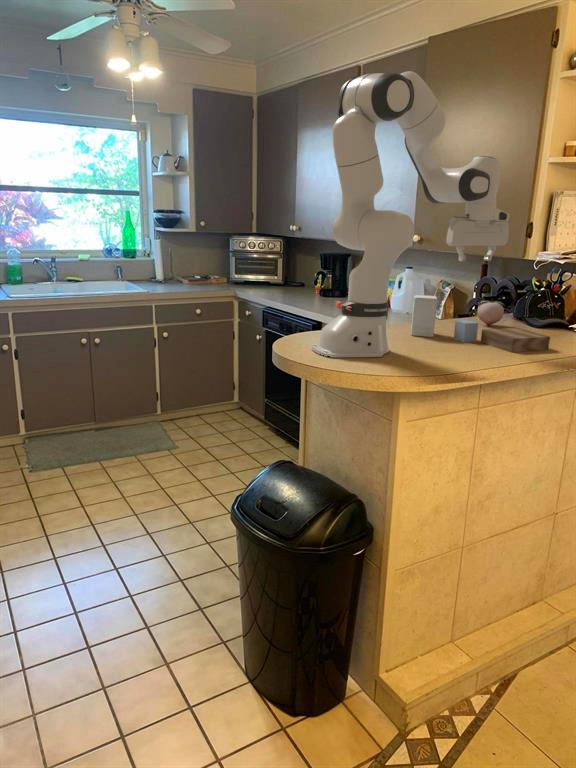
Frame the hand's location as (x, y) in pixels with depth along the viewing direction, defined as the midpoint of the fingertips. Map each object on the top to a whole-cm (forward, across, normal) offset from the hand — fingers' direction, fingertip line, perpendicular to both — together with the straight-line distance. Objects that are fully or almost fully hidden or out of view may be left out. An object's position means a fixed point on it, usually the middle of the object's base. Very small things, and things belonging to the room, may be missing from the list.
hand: (474, 260), depth 178 cm
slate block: (+25, 0, 0) cm, 25 cm away
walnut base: (+25, +10, -11) cm, 29 cm away
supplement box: (+25, -10, +11) cm, 29 cm away
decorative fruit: (+26, +24, +20) cm, 40 cm away
